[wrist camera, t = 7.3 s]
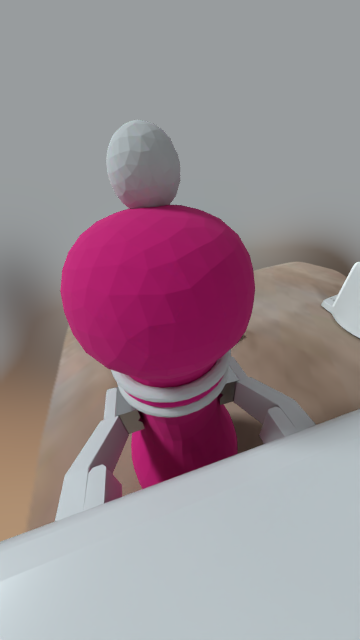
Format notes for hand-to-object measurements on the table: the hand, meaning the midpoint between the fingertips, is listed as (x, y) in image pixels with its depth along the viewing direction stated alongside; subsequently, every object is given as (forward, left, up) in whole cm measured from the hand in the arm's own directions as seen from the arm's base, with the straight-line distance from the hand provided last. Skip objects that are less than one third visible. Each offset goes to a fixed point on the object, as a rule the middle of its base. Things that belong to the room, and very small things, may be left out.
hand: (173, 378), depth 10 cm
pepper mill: (0, +1, -10) cm, 10 cm away
